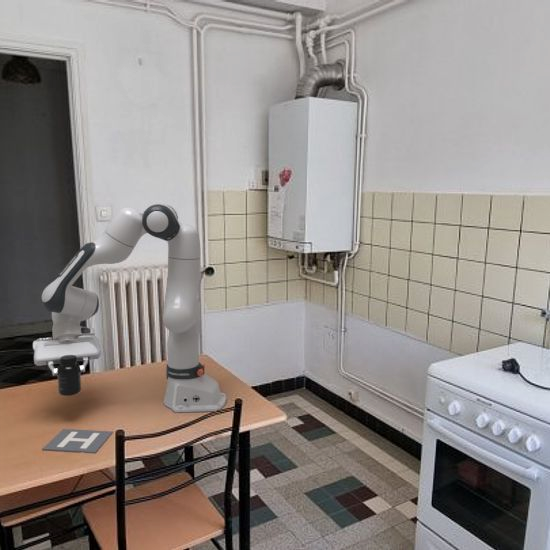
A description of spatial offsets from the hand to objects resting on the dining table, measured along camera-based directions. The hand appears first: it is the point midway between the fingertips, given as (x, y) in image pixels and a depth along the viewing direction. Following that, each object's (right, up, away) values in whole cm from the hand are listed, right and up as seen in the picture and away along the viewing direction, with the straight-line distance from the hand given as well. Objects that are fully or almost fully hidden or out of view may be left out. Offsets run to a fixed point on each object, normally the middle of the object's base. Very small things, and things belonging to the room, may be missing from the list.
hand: (69, 373), depth 152 cm
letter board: (+7, -18, -10) cm, 22 cm away
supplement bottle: (-1, -7, +2) cm, 7 cm away
